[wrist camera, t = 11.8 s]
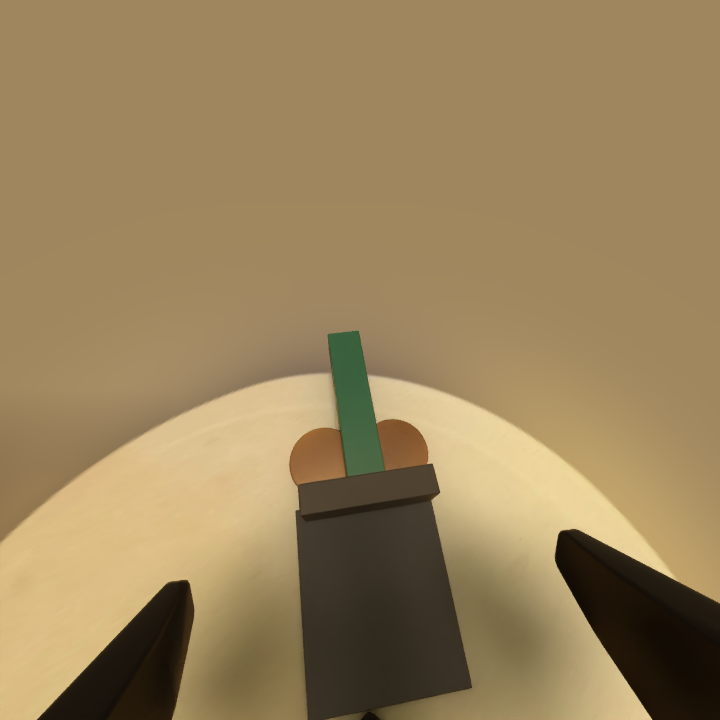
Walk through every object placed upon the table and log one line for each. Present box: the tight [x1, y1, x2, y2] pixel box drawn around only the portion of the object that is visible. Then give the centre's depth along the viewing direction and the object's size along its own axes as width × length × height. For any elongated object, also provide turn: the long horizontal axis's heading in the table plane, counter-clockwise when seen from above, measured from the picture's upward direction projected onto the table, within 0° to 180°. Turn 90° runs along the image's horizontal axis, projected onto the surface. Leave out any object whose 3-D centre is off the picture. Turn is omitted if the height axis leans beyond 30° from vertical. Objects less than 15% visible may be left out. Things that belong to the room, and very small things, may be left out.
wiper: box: [298, 331, 440, 522], centre depth 21 cm, size 2×7×10 cm
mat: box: [296, 501, 472, 720], centre depth 19 cm, size 9×8×1 cm
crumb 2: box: [376, 419, 428, 471], centre depth 22 cm, size 4×4×1 cm
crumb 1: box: [289, 428, 346, 486], centre depth 21 cm, size 4×4×1 cm
